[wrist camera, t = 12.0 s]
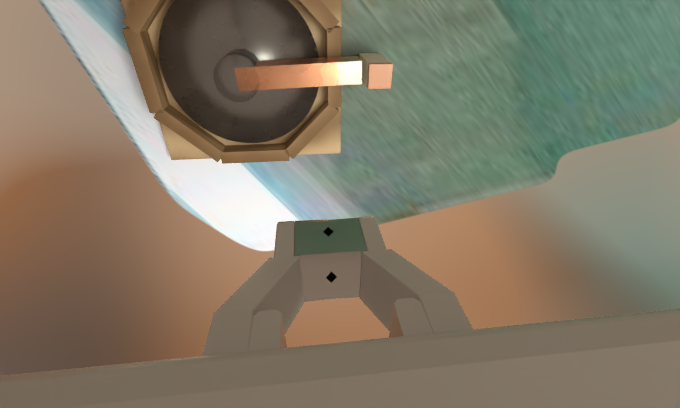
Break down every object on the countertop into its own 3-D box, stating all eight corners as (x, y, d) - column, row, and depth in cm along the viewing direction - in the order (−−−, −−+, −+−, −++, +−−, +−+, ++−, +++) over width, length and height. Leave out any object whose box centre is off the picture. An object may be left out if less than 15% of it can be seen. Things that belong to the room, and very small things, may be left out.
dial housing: (108, -57, 30) (90, -62, 27) (340, -53, 32) (344, -57, 30) (174, 155, 42) (166, 167, 40) (339, 149, 45) (342, 159, 42)
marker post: (359, 53, 38) (369, 64, 32) (378, 52, 38) (392, 64, 33) (358, 74, 39) (368, 88, 34) (377, 74, 39) (390, 88, 34)
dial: (189, 144, 40) (175, 163, 36) (137, -21, 31) (109, -23, 26) (354, 132, 42) (361, 149, 37) (353, -29, 32) (362, -31, 28)
